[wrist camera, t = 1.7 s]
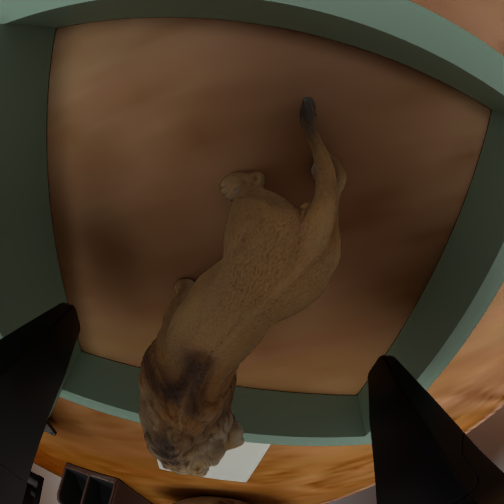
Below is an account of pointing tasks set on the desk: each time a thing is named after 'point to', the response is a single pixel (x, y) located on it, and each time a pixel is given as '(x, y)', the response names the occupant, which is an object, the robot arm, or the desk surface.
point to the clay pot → (210, 500)
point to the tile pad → (236, 462)
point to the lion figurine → (237, 309)
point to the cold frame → (298, 19)
